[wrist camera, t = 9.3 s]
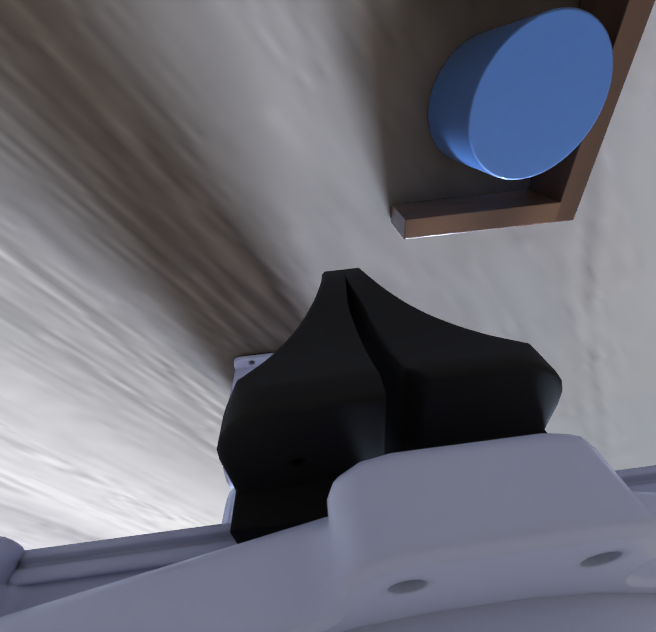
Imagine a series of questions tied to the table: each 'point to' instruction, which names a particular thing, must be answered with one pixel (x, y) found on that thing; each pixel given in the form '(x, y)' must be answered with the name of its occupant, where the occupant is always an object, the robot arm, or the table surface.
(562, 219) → the frame
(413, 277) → the table surface
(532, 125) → the puck
